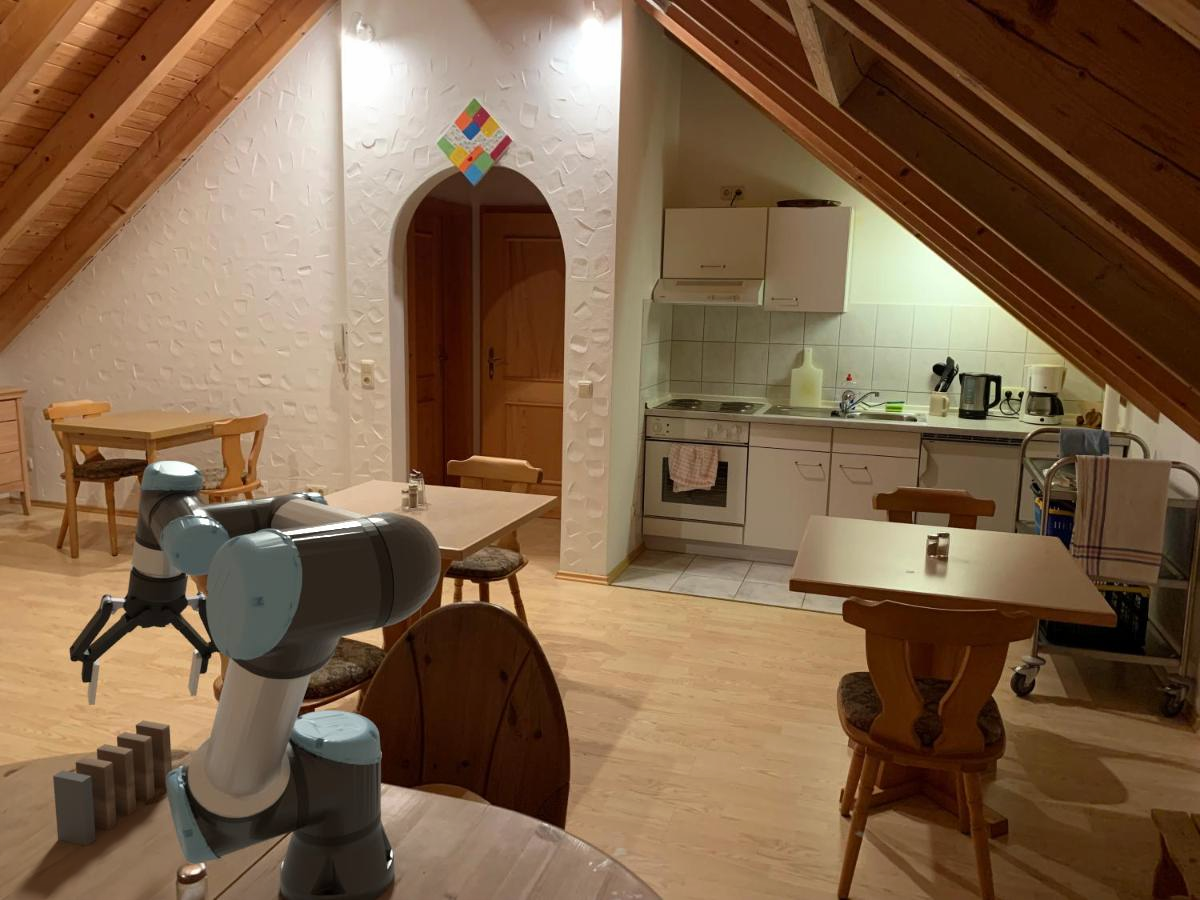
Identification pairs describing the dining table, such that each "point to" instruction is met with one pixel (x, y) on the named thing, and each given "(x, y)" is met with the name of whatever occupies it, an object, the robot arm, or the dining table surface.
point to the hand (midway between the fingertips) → (143, 695)
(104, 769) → the domino
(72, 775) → the domino
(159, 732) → the domino
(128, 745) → the domino
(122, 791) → the domino
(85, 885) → the dining table surface
